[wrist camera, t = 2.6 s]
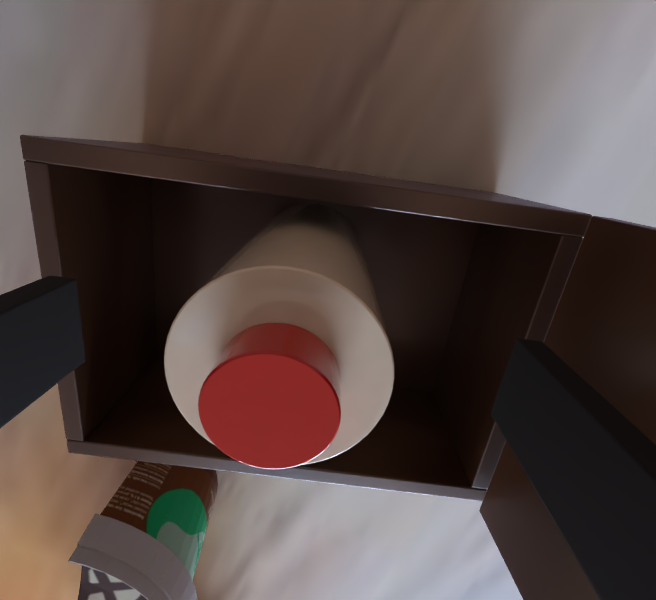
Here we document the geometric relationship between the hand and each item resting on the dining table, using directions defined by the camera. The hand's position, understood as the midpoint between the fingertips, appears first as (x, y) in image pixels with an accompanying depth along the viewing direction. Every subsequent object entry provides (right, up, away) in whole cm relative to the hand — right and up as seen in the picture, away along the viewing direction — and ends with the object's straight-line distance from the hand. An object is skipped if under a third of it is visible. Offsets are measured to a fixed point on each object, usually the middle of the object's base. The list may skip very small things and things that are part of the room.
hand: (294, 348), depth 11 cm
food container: (-9, -13, +18) cm, 24 cm away
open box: (0, +2, +12) cm, 12 cm away
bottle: (0, +4, +10) cm, 11 cm away
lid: (+10, -6, -6) cm, 13 cm away
